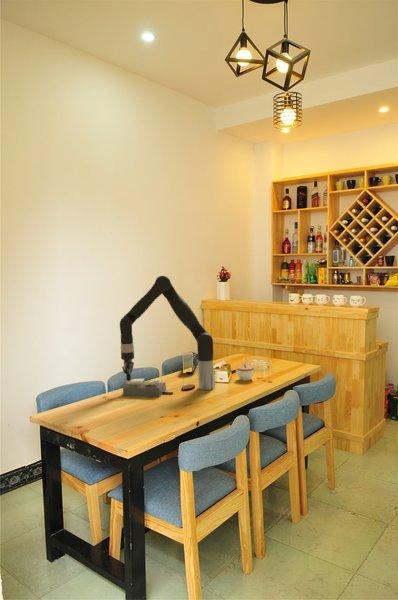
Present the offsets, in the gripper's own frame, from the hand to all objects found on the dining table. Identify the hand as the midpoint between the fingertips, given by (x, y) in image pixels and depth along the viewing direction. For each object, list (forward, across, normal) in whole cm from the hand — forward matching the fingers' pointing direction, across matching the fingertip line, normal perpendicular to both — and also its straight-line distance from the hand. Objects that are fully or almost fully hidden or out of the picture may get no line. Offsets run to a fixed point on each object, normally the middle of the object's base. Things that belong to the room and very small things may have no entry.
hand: (128, 379), depth 266 cm
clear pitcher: (+8, +59, -24) cm, 64 cm away
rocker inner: (+2, 0, -15) cm, 15 cm away
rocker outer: (+2, 0, -4) cm, 4 cm away
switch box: (+8, 0, -13) cm, 15 cm away
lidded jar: (+8, +36, -65) cm, 74 cm away
